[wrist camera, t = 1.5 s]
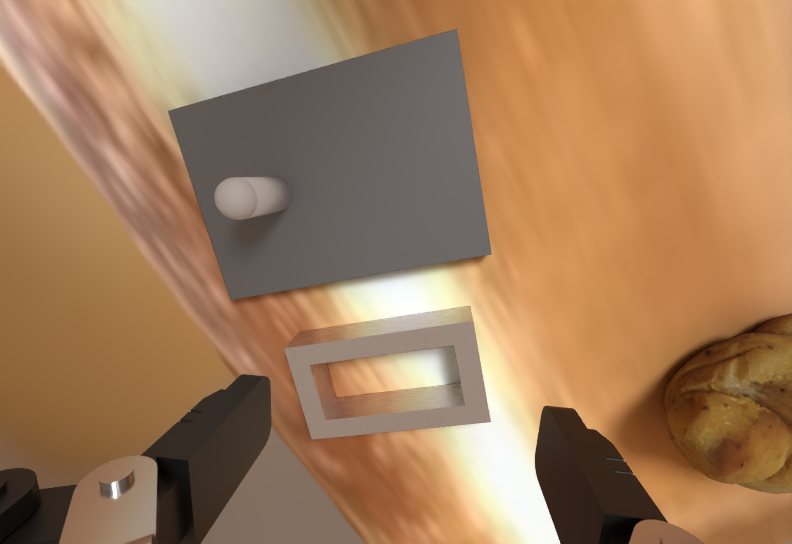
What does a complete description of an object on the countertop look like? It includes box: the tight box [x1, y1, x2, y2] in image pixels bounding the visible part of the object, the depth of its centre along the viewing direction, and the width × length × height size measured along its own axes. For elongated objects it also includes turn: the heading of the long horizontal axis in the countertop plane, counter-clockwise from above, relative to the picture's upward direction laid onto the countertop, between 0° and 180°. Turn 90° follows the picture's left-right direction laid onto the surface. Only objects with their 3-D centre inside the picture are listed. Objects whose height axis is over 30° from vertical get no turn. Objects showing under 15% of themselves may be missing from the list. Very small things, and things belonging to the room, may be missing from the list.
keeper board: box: [168, 29, 491, 300], centre depth 23 cm, size 20×14×8 cm
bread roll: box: [664, 314, 792, 494], centre depth 23 cm, size 13×10×8 cm
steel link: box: [284, 306, 491, 440], centre depth 28 cm, size 14×8×3 cm, turn 102°
